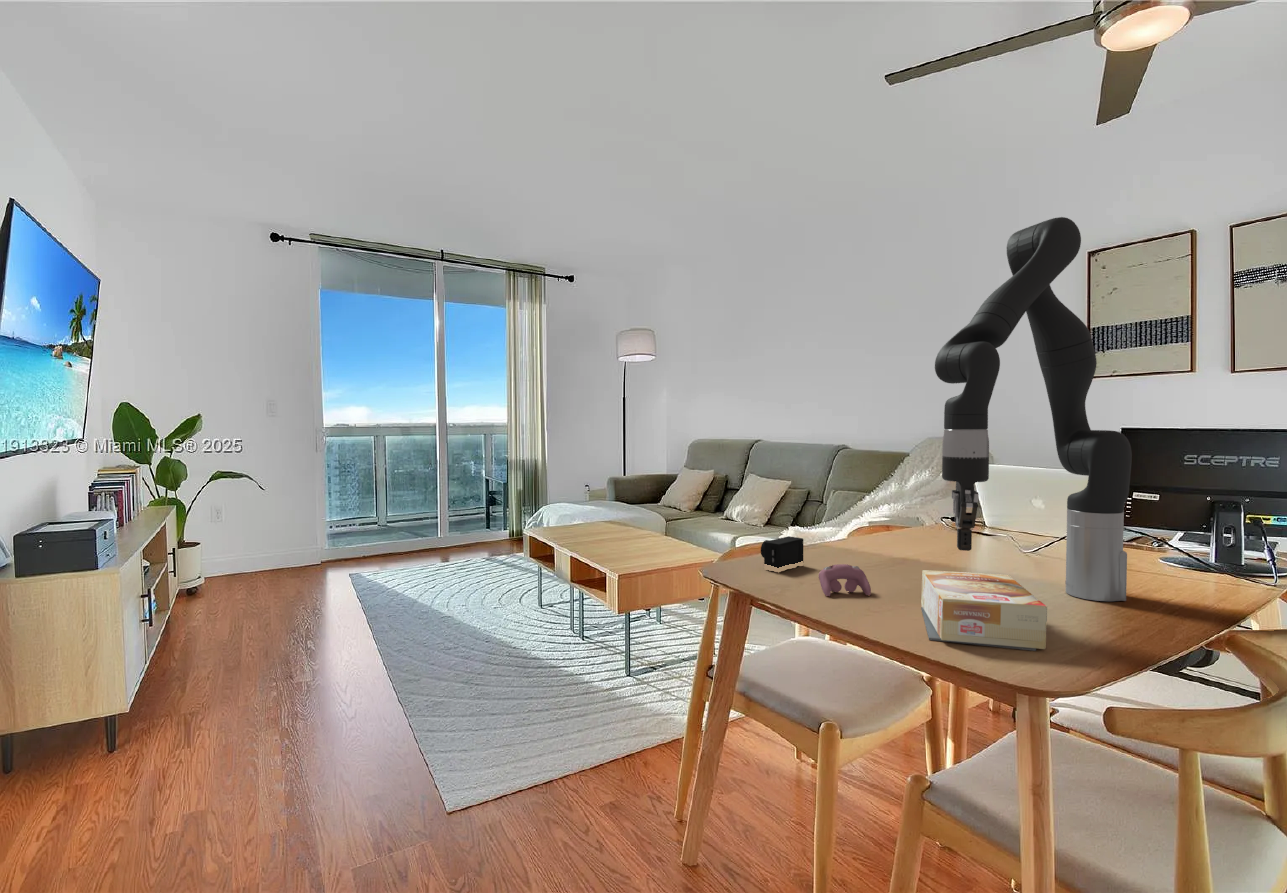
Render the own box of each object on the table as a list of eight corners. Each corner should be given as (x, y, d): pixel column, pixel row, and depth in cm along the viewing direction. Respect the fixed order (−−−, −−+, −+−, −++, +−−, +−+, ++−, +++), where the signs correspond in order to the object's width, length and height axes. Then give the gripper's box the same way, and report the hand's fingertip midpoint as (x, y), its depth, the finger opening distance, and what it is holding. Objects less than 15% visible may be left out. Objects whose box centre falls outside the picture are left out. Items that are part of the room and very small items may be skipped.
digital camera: (785, 562, 157) (785, 535, 157) (803, 566, 153) (803, 537, 153) (759, 569, 150) (759, 540, 150) (778, 573, 146) (778, 543, 146)
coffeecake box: (1009, 573, 114) (1049, 605, 95) (1008, 612, 114) (1047, 651, 95) (921, 568, 117) (942, 597, 99) (920, 605, 118) (940, 641, 99)
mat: (1012, 617, 112) (1012, 614, 112) (1036, 650, 96) (1036, 648, 96) (921, 609, 117) (921, 607, 117) (929, 639, 101) (929, 637, 101)
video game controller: (865, 599, 130) (860, 565, 133) (874, 594, 126) (867, 560, 129) (819, 600, 129) (814, 566, 132) (825, 596, 125) (820, 561, 128)
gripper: (995, 456, 105) (994, 558, 106) (982, 452, 117) (981, 544, 118) (946, 456, 108) (945, 555, 108) (938, 452, 120) (937, 541, 121)
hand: (964, 549), depth 113 cm, fingers closed
